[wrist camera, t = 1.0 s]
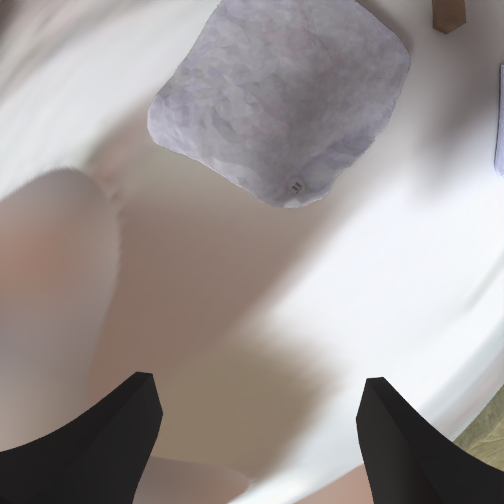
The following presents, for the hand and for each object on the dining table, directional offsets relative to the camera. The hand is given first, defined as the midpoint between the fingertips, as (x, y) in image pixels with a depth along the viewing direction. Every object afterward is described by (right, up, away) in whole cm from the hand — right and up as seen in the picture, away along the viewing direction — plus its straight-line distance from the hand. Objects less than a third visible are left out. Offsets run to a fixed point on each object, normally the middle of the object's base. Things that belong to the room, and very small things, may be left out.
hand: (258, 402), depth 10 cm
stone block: (+2, +14, +6) cm, 15 cm away
